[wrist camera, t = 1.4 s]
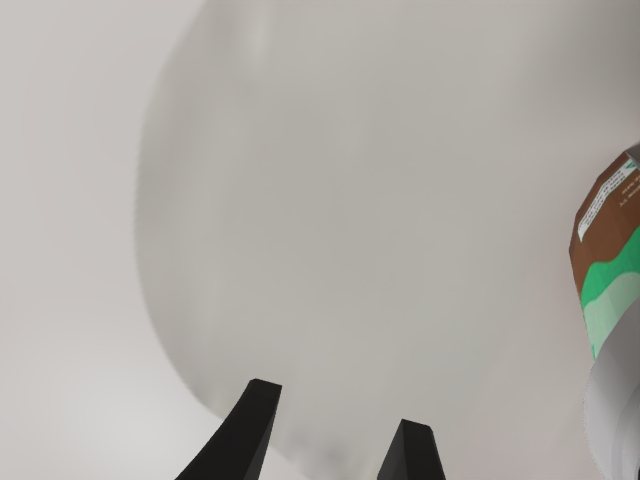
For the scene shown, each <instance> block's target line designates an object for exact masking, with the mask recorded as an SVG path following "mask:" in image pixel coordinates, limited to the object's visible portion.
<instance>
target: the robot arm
mask: <svg viewBox="0 0 640 480" xmlns="http://www.w3.org/2000/svg"><path fill="white" fill-rule="evenodd" d="M281 390H282V385H278V384H274V383H271V382H267V381H263V380H260V379H256V378H255V379H253V380H250V381H249V383H248V385H247V387H246V389H245V391H244V392H243V394H242V396H241V397H240V399H239V401H238V402H237V404H236V405H235V407H234V408H233V409H232V411H231V412H230V414H229V415H228V416H227V418H226V419H225V421H224V422H223V423H222V425H221V426H220V427H219V429H218V430H217V431H216V432H215V433H214V435H213V436H212V437H211V438H210V440H209V441H208V442H207V443H206V445H205V446H204V447H203V448H202V450H201V451H200V452H199V453H198V454H197V456H196V457H195V458H194V459H193V460H192V461H191V462H190V463H189V465H188V466H187V467H186V468H185V469H184V470H183V471H182V472H181V473H180V474H179V476H178V477H177V478H176V479H175V480H258V478H259V475H260V471H261V468H262V464H263V461H264V457H265V454H266V450H267V447H268V443H269V439H270V435H271V431H272V427H273V423H274V418H275V414H276V410H277V406H278V402H279V398H280V394H281ZM377 480H446V478H445V475H444V472H443V468H442V465H441V461H440V458H439V454H438V451H437V447H436V443H435V439H434V435H433V431H432V429H431V428H430V426H427V425H423V424H420V423H416V422H412V421H409V420H405V419H402V420H401V422H400V424H399V427H398V429H397V431H396V434H395V436H394V438H393V441H392V443H391V445H390V448H389V450H388V452H387V455H386V457H385V459H384V462H383V464H382V466H381V469H380V471H379V473H378V476H377Z"/></svg>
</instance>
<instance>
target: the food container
mask: <svg viewBox="0 0 640 480" xmlns="http://www.w3.org/2000/svg"><path fill="white" fill-rule="evenodd" d="M569 254H570V259H571V264H572V269H573V274H574V279H575V284H576V288H577V292H578V296H579V300H580V304H581V308H582V312H583V316H584V320H585V324H586V328H587V332H588V336H589V340H590V344H591V348H592V353H593V357H594V361H595V363H594V365H593V367H592V369H591V372H590V374H589V379H588V383H587V388H586V393H585V398H584V402H583V405H584V431H585V435H586V438H587V442H588V446H589V449H590V453H591V456H592V458H593V459H594V461H595V463H596V465H597V467H598V468H599V470H600V472H601V474H602V476H603V478H604V479H605V480H640V163H638V162H637V161H636V160H635V159H634V158H633V157H631V156H630V155H629V154H628V153H627V152H626V151H624V152H623V153H622V154H621V155H620V156H619V157H618V158H617V159H616V160H615V161H614V162H613V163H612V164H611V165H610V166H609V167H608V168H607V169H606V170H605V171H604V172H603V173H602V174H601V175H600V176H599V177H598V178H597V180H596V182H595V183H594V185H593V187H592V188H591V190H590V192H589V193H588V195H587V197H586V199H585V200H584V202H583V204H582V205H581V207H580V209H579V210H578V212H577V214H576V217H575V222H574V227H573V232H572V237H571V242H570V247H569Z"/></svg>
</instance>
